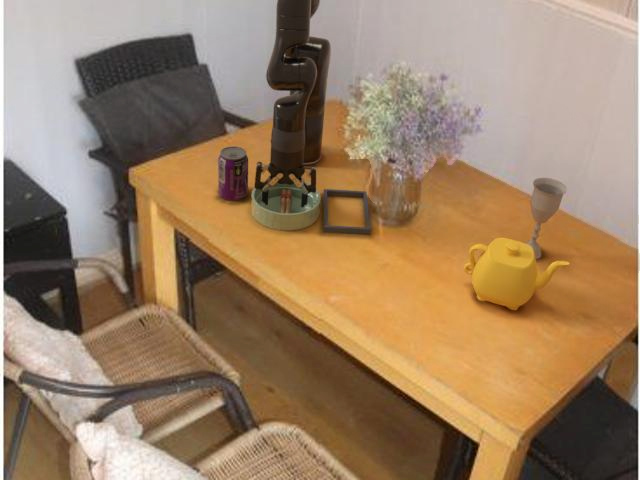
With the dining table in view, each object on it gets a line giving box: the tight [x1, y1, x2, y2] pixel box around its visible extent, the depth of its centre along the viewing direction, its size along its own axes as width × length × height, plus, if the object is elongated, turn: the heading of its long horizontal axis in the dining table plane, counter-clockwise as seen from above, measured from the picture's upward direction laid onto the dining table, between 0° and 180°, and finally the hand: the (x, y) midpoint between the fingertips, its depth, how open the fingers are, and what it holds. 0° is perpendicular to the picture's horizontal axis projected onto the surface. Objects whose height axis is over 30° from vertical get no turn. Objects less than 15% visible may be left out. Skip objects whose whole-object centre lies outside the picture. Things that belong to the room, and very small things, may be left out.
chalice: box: [524, 177, 568, 260], centre depth 164 cm, size 7×7×18 cm
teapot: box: [463, 237, 571, 311], centre depth 152 cm, size 14×20×13 cm
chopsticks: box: [280, 189, 292, 214], centre depth 174 cm, size 12×2×2 cm, turn 1°
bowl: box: [250, 180, 322, 231], centre depth 173 cm, size 16×16×5 cm
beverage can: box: [217, 145, 249, 202], centre depth 176 cm, size 7×7×12 cm
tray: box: [323, 188, 371, 236], centre depth 175 cm, size 17×11×2 cm, turn 1°
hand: (284, 204), depth 173 cm, fingers open, 8 cm apart
